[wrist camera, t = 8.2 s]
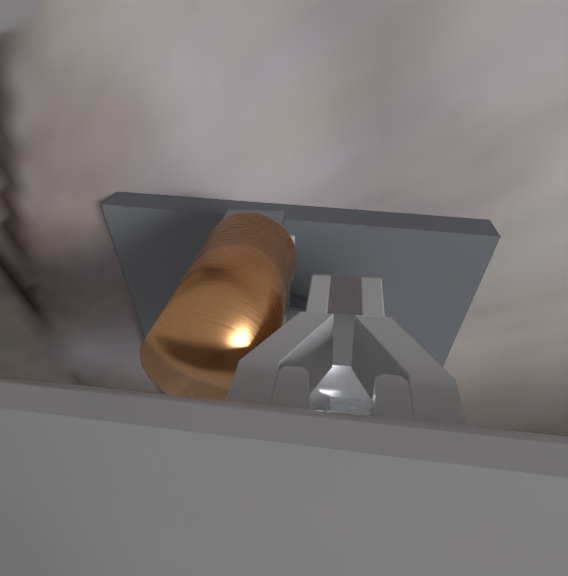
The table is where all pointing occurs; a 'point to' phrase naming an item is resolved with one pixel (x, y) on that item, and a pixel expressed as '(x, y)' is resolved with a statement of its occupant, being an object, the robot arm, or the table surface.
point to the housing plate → (316, 256)
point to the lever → (236, 314)
